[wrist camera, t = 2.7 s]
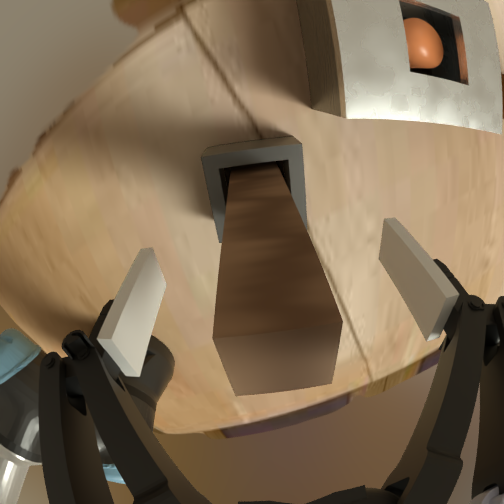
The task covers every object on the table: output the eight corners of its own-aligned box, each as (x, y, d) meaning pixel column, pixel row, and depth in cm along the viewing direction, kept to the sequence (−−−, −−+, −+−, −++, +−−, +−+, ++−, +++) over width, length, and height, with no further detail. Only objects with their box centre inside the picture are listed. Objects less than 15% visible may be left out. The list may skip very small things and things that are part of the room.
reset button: (379, 65, 17) (403, 63, 14) (373, 21, 15) (395, 12, 11) (419, 71, 17) (445, 72, 13) (414, 29, 14) (439, 24, 11)
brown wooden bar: (238, 202, 27) (235, 395, 10) (231, 164, 25) (212, 338, 8) (278, 197, 27) (331, 383, 10) (274, 158, 25) (342, 321, 8)
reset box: (311, 109, 22) (346, 118, 14) (293, -13, 15) (317, -54, 7) (444, 115, 21) (501, 134, 14) (434, 11, 14) (488, 3, 7)
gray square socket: (221, 222, 28) (219, 242, 25) (207, 147, 24) (201, 157, 20) (299, 212, 28) (307, 231, 24) (293, 136, 23) (301, 143, 20)
